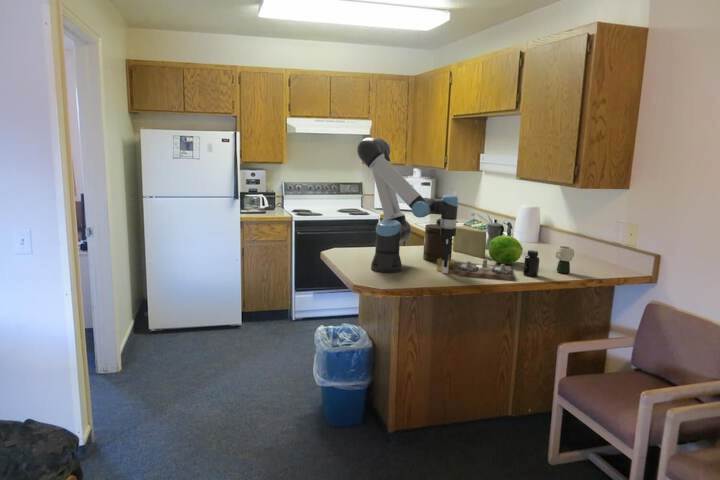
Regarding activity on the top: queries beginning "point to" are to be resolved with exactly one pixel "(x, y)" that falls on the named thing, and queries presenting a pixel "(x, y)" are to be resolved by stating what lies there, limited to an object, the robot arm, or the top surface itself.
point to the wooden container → (434, 242)
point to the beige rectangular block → (470, 241)
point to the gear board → (485, 270)
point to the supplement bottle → (531, 264)
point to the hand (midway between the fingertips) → (445, 269)
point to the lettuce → (505, 249)
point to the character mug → (564, 258)
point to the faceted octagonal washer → (440, 265)
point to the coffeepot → (494, 231)
